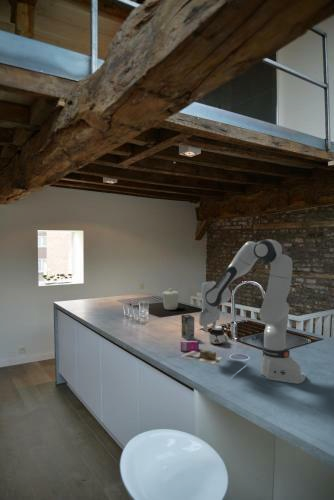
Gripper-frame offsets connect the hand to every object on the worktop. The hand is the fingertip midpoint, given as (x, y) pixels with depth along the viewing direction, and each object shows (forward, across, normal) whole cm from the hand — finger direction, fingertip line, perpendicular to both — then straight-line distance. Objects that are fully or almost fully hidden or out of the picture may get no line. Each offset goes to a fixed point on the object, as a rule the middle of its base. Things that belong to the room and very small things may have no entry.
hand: (210, 330), depth 206 cm
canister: (+13, +105, +99) cm, 145 cm away
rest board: (+16, -4, +4) cm, 17 cm away
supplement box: (+13, +7, +12) cm, 19 cm away
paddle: (+16, -4, +4) cm, 17 cm away
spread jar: (+17, +29, +9) cm, 35 cm away
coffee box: (+16, +27, +33) cm, 45 cm away
